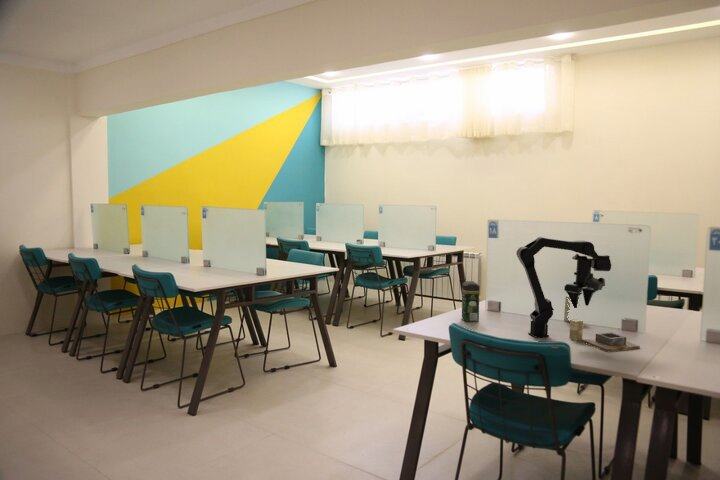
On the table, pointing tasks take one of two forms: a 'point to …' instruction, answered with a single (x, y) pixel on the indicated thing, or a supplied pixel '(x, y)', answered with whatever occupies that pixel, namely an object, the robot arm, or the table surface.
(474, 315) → the coffee jar
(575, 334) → the maple peg
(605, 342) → the collar stand
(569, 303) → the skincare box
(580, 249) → the robot arm
